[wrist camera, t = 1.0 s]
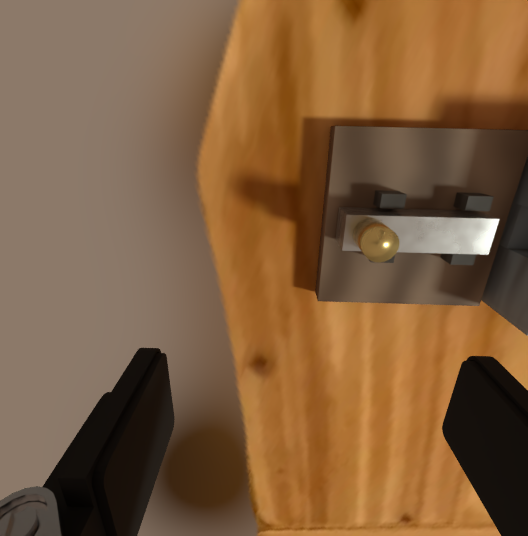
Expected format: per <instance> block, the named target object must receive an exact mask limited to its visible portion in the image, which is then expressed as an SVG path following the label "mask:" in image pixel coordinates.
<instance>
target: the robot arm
mask: <svg viewBox="0 0 528 536" xmlns="http://www.w3.org/2000/svg"><path fill="white" fill-rule="evenodd" d="M173 427H174V412H173V403H172V396H171V388H170V380H169V372H168V364H167V357H166V354H165V353H161V351H160V349H158V348H140V349H139V350H138V351H137V352H136V354H135V355H134V357H133V359H132V360H131V362H130V363H129V365H128V366H127V368H126V370H125V371H124V373H123V375H122V376H121V378H120V379H119V381H118V382H117V384H116V385H115V387H114V389H113V390H112V392H107V393H105V394H104V395H103V396H102V398H101V399H100V400H99V402H98V403H97V405H96V406H95V408H94V409H93V411H92V412H91V414H90V415H89V417H88V419H87V420H86V421H85V423H84V424H83V426H82V428H81V429H80V430H79V432H78V433H77V435H76V437H75V438H74V440H73V441H72V443H71V444H70V446H69V447H68V449H67V450H66V452H65V453H64V455H63V457H62V458H61V459H60V461H59V462H58V464H57V465H56V467H55V469H54V470H53V472H52V473H51V475H50V476H49V478H48V479H47V481H46V482H45V484H44V485H43V487H38V486H36V487H30V488H25V489H22V490H20V491H17V492H14V493H12V494H11V495H9V496H7V497H6V498H4V499H2V500H1V501H0V536H137V534H138V531H139V528H140V526H141V523H142V520H143V517H144V513H145V511H146V508H147V505H148V502H149V499H150V496H151V493H152V490H153V487H154V484H155V481H156V478H157V475H158V472H159V469H160V466H161V463H162V460H163V457H164V455H165V452H166V449H167V446H168V442H169V440H170V437H171V434H172V431H173ZM442 430H443V434H444V437H445V439H446V441H447V443H448V444H449V446H450V448H451V450H452V451H453V453H454V455H455V457H456V458H457V460H458V462H459V463H460V465H461V467H462V469H463V470H464V472H465V474H466V476H467V477H468V479H469V481H470V482H471V484H472V486H473V488H474V489H475V491H476V493H477V495H478V496H479V498H480V500H481V501H482V503H483V505H484V507H485V508H486V510H487V512H488V514H489V515H490V517H491V519H492V520H493V522H494V524H495V526H496V527H497V529H498V531H499V533H500V534H501V536H528V391H527V390H526V389H525V388H524V387H523V386H522V385H521V384H520V383H519V382H518V381H517V380H516V379H515V378H514V377H513V376H512V375H511V374H510V373H509V372H508V371H507V370H506V369H505V368H504V367H503V366H502V365H501V364H500V363H499V362H498V361H497V360H496V359H495V358H493V357H490V356H470V357H469V358H468V359H467V361H464V362H463V363H462V365H461V368H460V371H459V374H458V377H457V380H456V384H455V387H454V390H453V393H452V396H451V400H450V403H449V406H448V409H447V412H446V416H445V419H444V422H443V426H442Z"/></svg>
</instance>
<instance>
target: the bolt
mask: <svg viewBox="0 0 528 536" xmlns="http://www.w3.org/2000/svg"><path fill="white" fill-rule="evenodd" d="M498 223H499V219H498V218H496V217H493V216H490V215H487V214H485V213H482V212H479V211H465V210H430V209H382V208H352V207H339V213H338V222H337V230H336V239H335V240H336V242H337V243H338V245H339V246H340V248H341V250H342V251H362V252H363V254H364V255H365V256H366V257H367V258H368V259H369V260H371V261H373V262H385V261H387V260H389V259H391V258H392V257H393V256H394V255H395V254H396V253H397V252H407V253H443V254H480V255H488V254H489V251H490V248H491V245H492V242H493V238H494V235H495V232H496V229H497V226H498Z"/></svg>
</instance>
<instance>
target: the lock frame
mask: <svg viewBox="0 0 528 536" xmlns="http://www.w3.org/2000/svg"><path fill="white" fill-rule="evenodd" d="M339 207H352V208H382V209H430V210H465V211H479V212H482V213H485V214H487V215H490V216H493V217H496V218H498V219H499V223H498V226H497V229H496V232H495V235H494V238H493V242H492V245H491V248H490V251H489V254H488V255H480V254H443V253H407V252H397V253H396V254H395V255H394V256H393V257H392V258H391V259H389V260H387V261H385V262H373V261H371V260H369V259H368V258H367V257H366V256H365V255H364V254H363V252H362V251H342V250H341V248H340V246H339V245H338V243H337V242H336V240H335V239H336V230H337V222H338V213H339ZM316 296H317V299H318V301H332V302H366V303H399V304H433V305H466V306H479V305H480V302H481V300H482V301H483V302H485V303H486V304H487V305H488V306H490V307H491V308H492V309H494V310H495V311H496V312H497V313H499V314H500V315H501V316H503V317H504V318H505V319H506V320H508V321H509V322H510V323H512V324H513V325H514V326H515V327H517V328H518V329H519V330H521V331H522V332H523V333H524V334H526V335H528V130H493V129H449V128H404V127H359V126H332V127H331V132H330V143H329V153H328V164H327V175H326V185H325V196H324V207H323V217H322V228H321V239H320V249H319V260H318V271H317V281H316Z"/></svg>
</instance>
